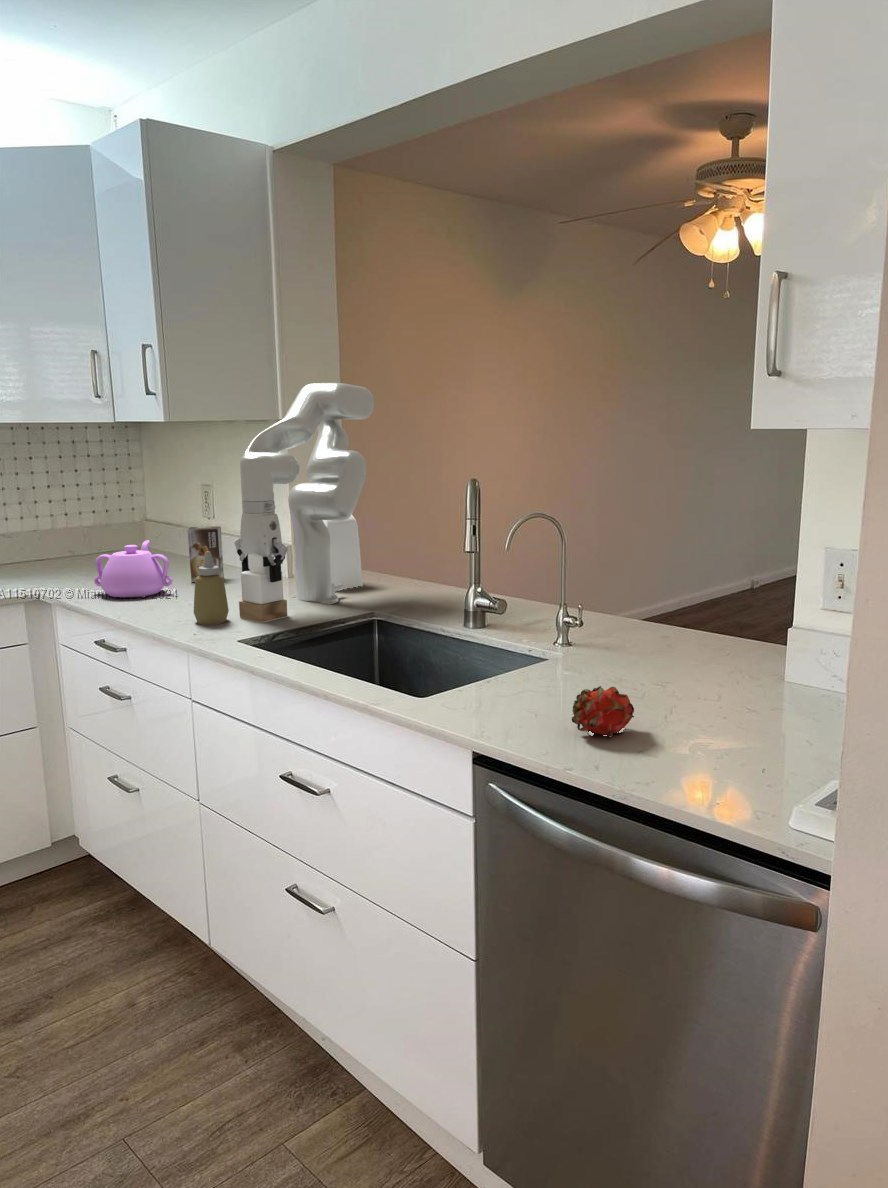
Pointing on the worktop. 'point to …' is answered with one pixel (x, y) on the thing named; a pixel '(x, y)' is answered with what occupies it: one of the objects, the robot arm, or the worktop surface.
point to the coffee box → (204, 548)
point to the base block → (263, 610)
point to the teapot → (132, 572)
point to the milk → (345, 552)
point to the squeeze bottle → (210, 594)
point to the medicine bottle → (260, 582)
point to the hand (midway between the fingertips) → (261, 579)
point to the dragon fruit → (602, 711)
